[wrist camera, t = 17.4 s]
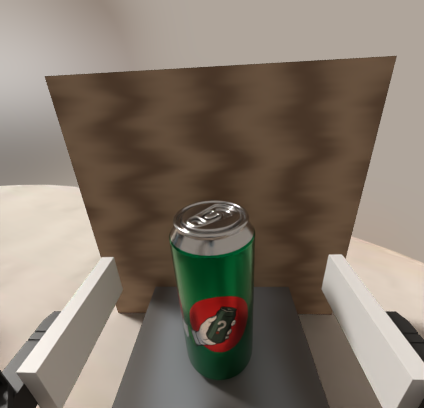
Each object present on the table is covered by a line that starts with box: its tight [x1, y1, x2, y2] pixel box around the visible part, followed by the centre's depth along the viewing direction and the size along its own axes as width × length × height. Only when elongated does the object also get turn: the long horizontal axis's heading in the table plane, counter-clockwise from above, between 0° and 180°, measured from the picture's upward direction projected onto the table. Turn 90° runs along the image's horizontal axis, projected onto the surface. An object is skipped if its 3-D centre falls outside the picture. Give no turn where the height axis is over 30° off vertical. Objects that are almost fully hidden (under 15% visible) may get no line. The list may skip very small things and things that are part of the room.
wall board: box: [45, 56, 396, 408], centre depth 16 cm, size 24×14×24 cm, turn 87°
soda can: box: [169, 200, 255, 380], centre depth 16 cm, size 5×5×12 cm
